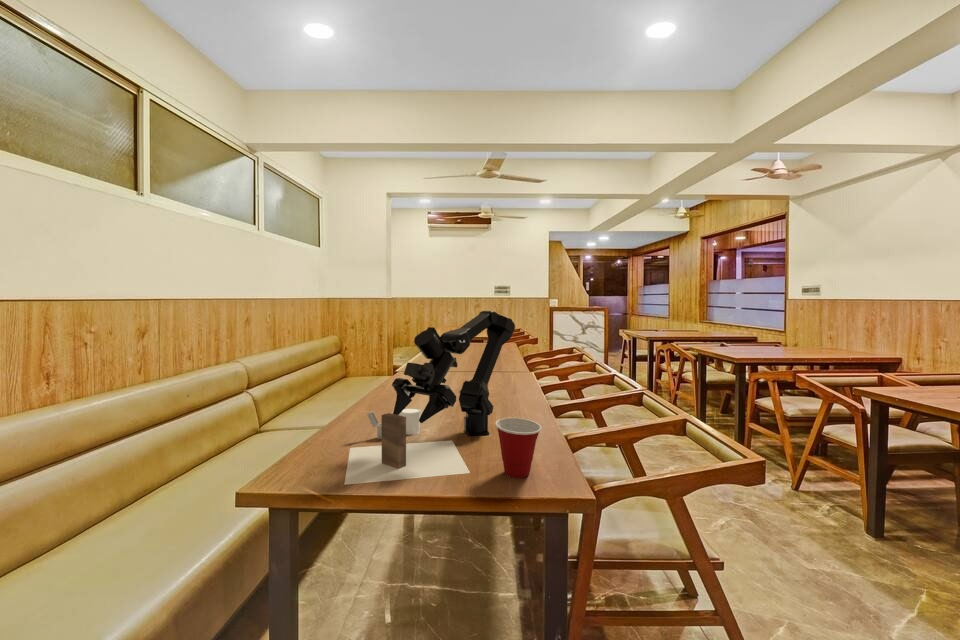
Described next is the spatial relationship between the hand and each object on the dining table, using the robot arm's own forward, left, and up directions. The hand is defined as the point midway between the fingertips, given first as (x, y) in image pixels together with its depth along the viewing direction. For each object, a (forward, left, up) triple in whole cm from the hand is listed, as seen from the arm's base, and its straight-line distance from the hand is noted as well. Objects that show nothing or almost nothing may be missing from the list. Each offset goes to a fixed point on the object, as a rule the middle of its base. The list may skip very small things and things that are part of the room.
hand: (406, 419), depth 108 cm
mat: (0, 0, -11) cm, 11 cm away
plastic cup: (-25, +14, -11) cm, 30 cm away
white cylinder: (-3, -23, -11) cm, 26 cm away
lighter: (+6, -19, -11) cm, 23 cm away
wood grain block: (+3, +3, -10) cm, 11 cm away
